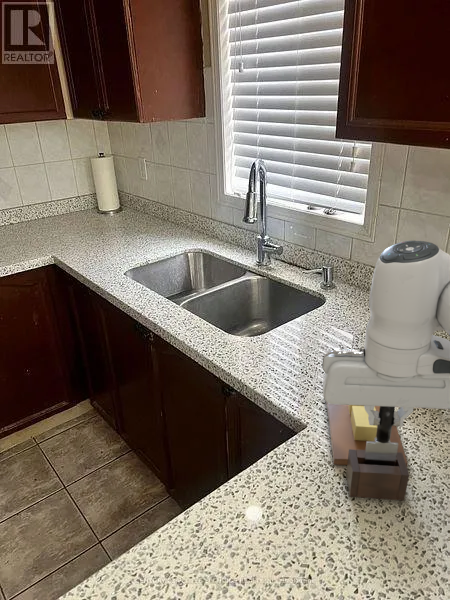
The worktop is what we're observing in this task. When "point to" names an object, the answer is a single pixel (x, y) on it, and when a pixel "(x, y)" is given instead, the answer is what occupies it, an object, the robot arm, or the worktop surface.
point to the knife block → (376, 477)
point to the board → (349, 434)
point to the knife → (382, 441)
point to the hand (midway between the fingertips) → (385, 423)
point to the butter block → (362, 424)
